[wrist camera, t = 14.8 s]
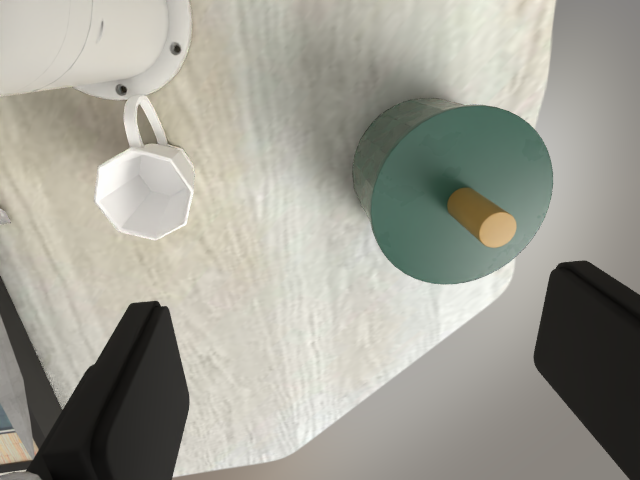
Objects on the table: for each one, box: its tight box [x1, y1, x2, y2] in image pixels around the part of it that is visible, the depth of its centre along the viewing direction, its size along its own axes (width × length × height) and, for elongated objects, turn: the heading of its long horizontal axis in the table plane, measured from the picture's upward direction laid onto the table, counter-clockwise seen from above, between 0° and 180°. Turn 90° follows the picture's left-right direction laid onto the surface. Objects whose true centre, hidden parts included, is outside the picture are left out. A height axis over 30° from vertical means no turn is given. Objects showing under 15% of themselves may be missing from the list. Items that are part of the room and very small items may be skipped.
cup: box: [94, 95, 195, 240], centre depth 33 cm, size 7×10×8 cm
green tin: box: [353, 98, 464, 219], centre depth 35 cm, size 13×13×10 cm
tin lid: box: [369, 105, 553, 284], centre depth 28 cm, size 14×14×6 cm
